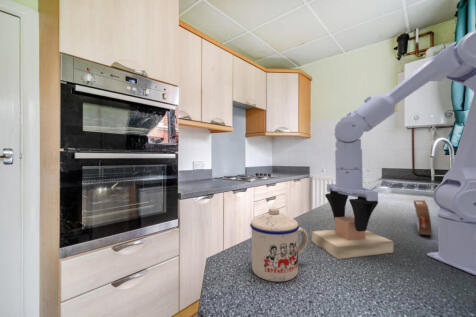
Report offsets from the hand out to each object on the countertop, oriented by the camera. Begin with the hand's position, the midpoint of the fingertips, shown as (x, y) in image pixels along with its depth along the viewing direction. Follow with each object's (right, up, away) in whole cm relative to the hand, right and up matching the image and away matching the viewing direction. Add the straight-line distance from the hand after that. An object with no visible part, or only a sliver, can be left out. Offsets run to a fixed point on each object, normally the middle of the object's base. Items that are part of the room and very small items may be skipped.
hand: (349, 225), depth 51 cm
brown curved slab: (+26, -5, +11) cm, 29 cm away
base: (0, -5, 0) cm, 5 cm away
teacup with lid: (-18, -5, -10) cm, 21 cm away
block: (0, -2, 0) cm, 2 cm away
